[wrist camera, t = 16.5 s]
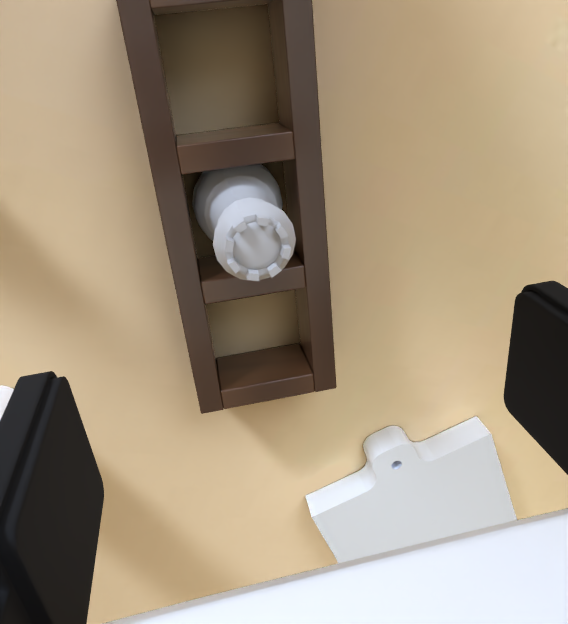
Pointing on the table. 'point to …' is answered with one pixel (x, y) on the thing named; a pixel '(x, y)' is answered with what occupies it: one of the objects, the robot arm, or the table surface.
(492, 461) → the mounting plate
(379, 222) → the table surface
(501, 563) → the robot arm
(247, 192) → the rook chess piece
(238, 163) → the piece stand
